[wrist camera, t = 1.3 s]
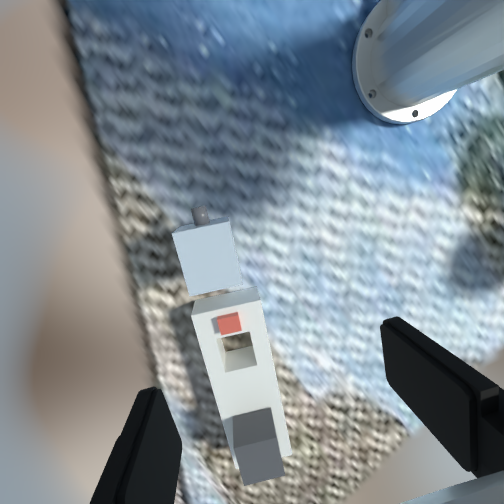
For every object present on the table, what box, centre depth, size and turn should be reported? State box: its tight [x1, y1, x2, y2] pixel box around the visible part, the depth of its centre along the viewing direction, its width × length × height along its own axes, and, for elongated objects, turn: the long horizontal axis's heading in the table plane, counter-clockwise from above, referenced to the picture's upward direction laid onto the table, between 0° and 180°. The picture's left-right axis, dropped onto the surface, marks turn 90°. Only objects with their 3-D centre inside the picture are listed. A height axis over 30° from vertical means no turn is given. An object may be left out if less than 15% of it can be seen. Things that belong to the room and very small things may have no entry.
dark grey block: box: [233, 408, 285, 486], centre depth 33 cm, size 8×5×8 cm, turn 11°
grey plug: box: [172, 206, 243, 296], centre depth 26 cm, size 8×5×8 cm, turn 11°
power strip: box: [191, 287, 292, 469], centre depth 33 cm, size 24×8×5 cm, turn 11°
